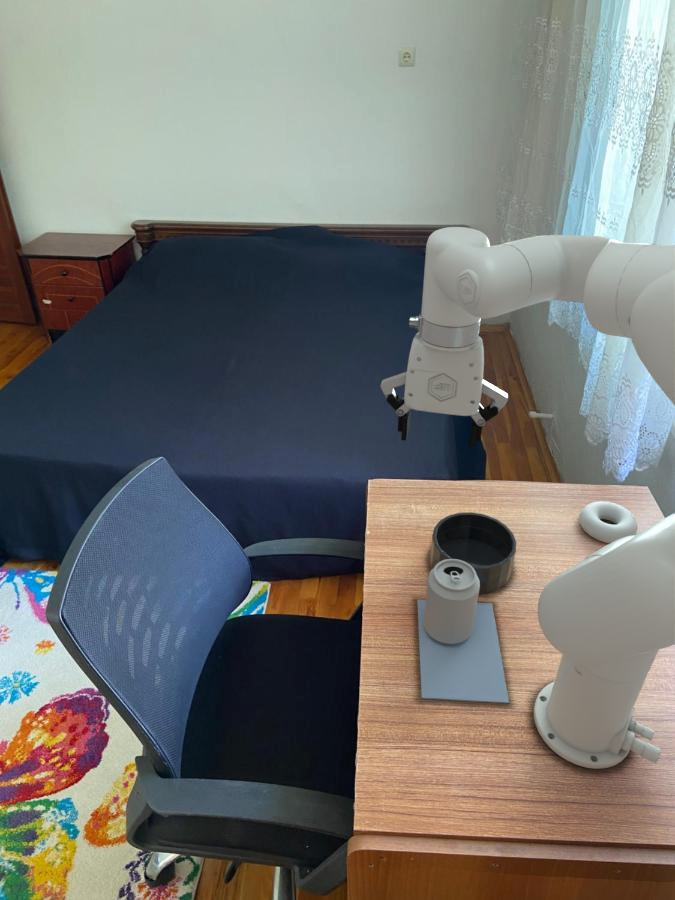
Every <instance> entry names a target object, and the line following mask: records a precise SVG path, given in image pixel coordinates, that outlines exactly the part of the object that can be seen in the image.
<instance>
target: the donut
mask: <svg viewBox="0 0 675 900" xmlns="http://www.w3.org/2000/svg"><path fill="white" fill-rule="evenodd" d="M602 520H607V521H611V522H612V523H614V524H610V523H607V522H604V521H602ZM579 523H580V526H581V527H582V529H583V531H584V532H586V533H587V535H589V536H590V537H591V538H593V539H594V540H597V541H600V542H603V543H607V544H610V543H612V542H614V541H616V540H618V539H621V538H624V537H627V536H632V535H637V532H638V523H637V518H636V517H635V516H634V514H633V513H632V512H631V511H630V510H629V509H628V508H626V507H625V506H623V505H621V504H618V503H614V502H611V501H605V500H603V501H602V500H599V501H593V502H591V503H587V505H585V506H584V507H583V508H582V510H581V511H580V514H579Z"/></svg>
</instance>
